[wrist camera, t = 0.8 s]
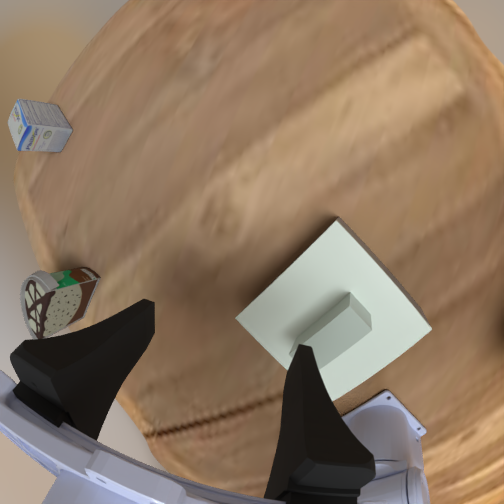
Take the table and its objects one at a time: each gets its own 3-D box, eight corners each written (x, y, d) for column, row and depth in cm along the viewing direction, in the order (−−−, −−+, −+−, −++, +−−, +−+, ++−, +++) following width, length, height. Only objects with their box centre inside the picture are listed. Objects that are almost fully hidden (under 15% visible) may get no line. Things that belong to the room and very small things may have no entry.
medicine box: (47, 126, 37) (6, 122, 29) (59, 104, 36) (16, 97, 27) (61, 153, 36) (16, 151, 28) (74, 129, 35) (27, 124, 27)
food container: (80, 240, 37) (24, 253, 28) (104, 270, 37) (46, 289, 27) (62, 295, 42) (15, 313, 33) (82, 323, 41) (35, 345, 32)
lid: (429, 324, 21) (440, 346, 17) (326, 399, 25) (320, 426, 22) (336, 219, 22) (333, 224, 19) (239, 314, 27) (220, 332, 23)
